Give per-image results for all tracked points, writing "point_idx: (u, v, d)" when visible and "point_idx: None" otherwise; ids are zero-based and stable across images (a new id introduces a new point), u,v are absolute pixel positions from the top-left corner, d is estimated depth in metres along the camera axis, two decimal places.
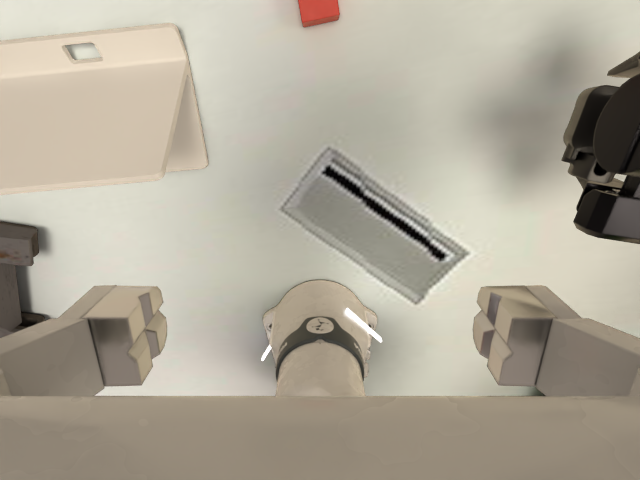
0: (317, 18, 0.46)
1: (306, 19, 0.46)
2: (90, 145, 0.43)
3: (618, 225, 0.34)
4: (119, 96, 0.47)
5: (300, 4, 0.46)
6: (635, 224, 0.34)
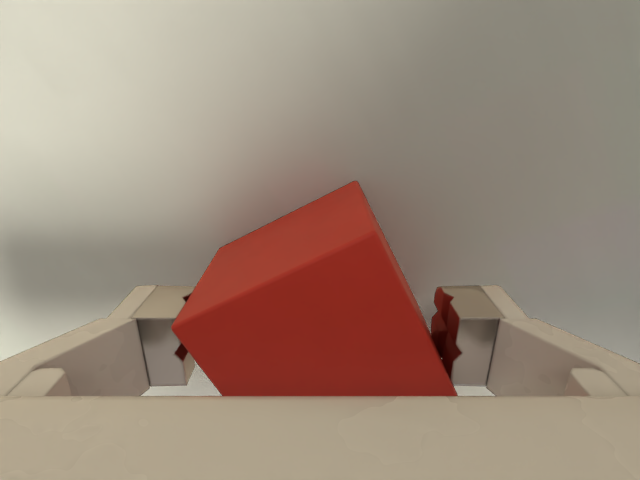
0: (423, 338, 0.08)
1: (439, 386, 0.08)
2: None
3: None
4: None
5: None
6: None
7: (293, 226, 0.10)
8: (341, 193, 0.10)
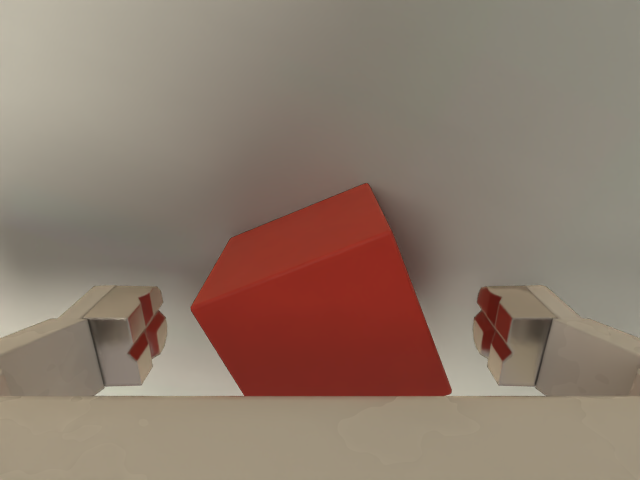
0: (425, 333, 0.09)
1: (436, 379, 0.09)
2: None
3: None
4: None
5: None
6: None
7: (306, 221, 0.11)
8: (354, 194, 0.11)
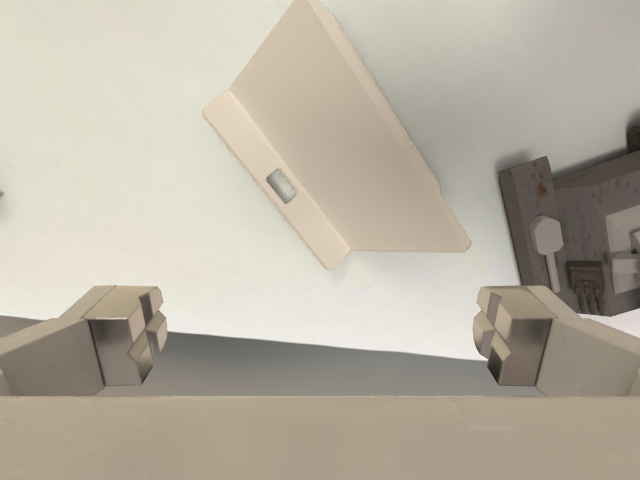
0: None
1: None
2: (334, 115, 0.35)
3: None
4: (289, 127, 0.42)
5: None
6: None
7: None
8: None
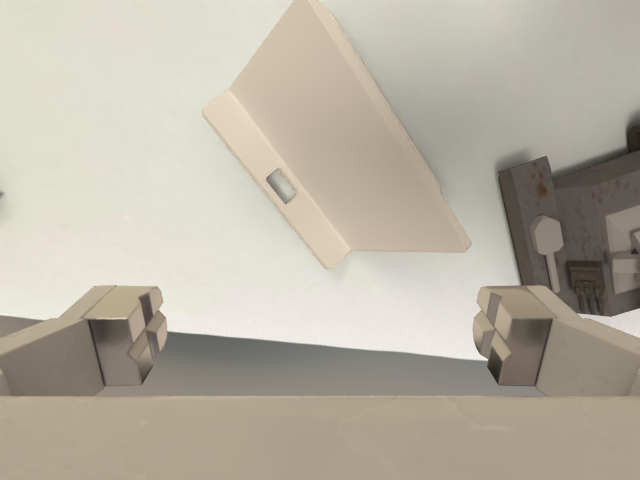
0: None
1: None
2: (334, 115, 0.35)
3: None
4: (289, 127, 0.42)
5: None
6: None
7: None
8: None
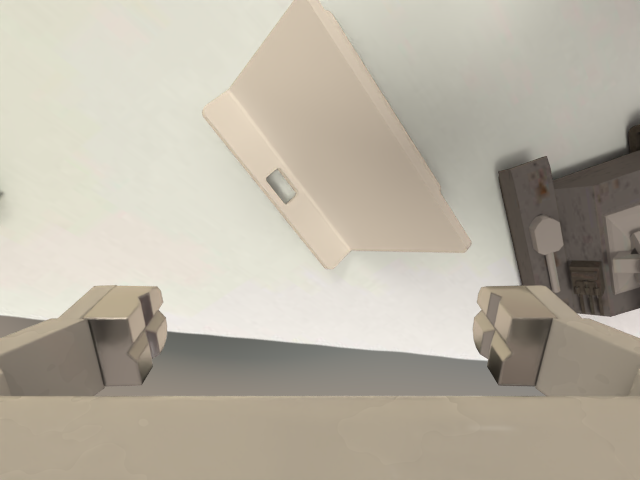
0: None
1: None
2: (334, 115, 0.35)
3: None
4: (289, 127, 0.42)
5: None
6: None
7: None
8: None
